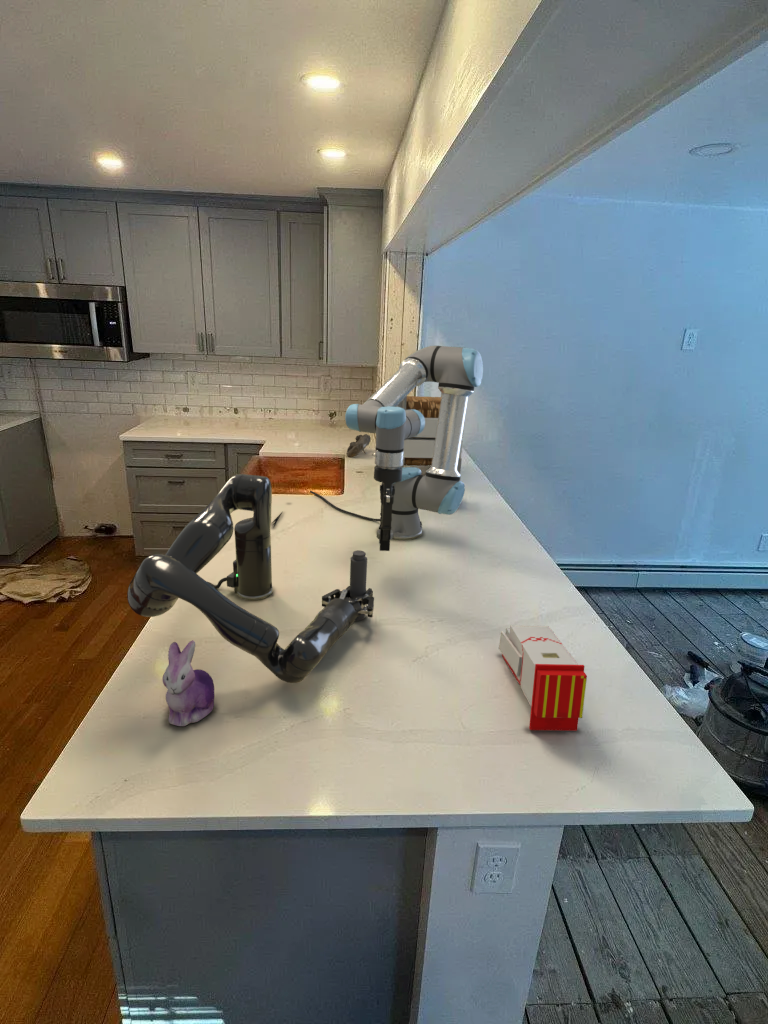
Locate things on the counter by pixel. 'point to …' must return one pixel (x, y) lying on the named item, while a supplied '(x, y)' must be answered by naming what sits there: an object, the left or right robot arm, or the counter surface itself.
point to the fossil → (358, 445)
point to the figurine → (187, 687)
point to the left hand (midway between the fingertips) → (362, 589)
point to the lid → (379, 534)
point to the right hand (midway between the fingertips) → (384, 546)
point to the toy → (545, 676)
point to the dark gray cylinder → (358, 576)
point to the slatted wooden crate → (423, 432)
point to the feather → (276, 520)
